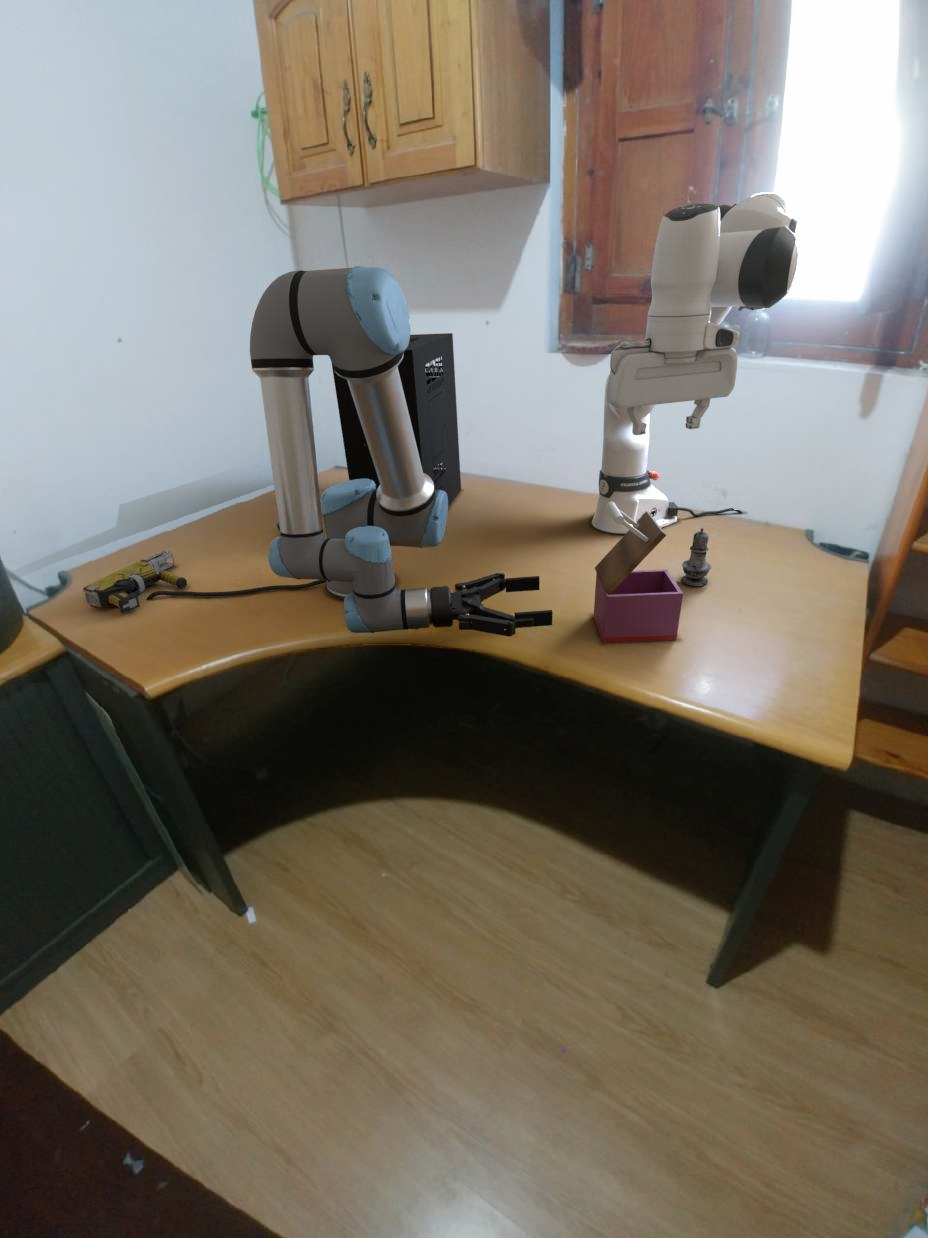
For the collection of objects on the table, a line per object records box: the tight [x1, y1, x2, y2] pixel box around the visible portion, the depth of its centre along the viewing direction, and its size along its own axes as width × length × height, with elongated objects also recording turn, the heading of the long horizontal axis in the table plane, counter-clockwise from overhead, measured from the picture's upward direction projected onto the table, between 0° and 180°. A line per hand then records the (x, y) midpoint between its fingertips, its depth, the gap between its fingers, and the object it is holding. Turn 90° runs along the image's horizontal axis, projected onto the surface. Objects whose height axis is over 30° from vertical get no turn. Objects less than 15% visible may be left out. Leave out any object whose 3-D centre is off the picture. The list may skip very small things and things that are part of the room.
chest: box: [592, 569, 684, 644], centre depth 112 cm, size 13×10×10 cm
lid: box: [594, 502, 667, 595], centre depth 105 cm, size 14×10×8 cm
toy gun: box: [82, 550, 188, 615], centre depth 138 cm, size 5×24×15 cm
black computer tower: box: [331, 332, 462, 508], centre depth 166 cm, size 38×20×45 cm, turn 167°
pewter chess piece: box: [681, 527, 712, 587], centre depth 126 cm, size 6×6×12 cm
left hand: (545, 599), depth 111 cm, fingers open, 13 cm apart
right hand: (665, 431), depth 96 cm, fingers open, 8 cm apart
